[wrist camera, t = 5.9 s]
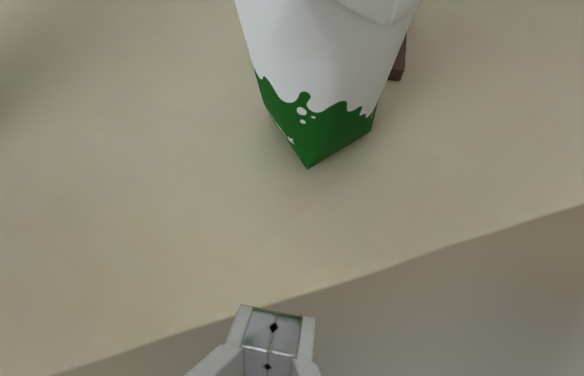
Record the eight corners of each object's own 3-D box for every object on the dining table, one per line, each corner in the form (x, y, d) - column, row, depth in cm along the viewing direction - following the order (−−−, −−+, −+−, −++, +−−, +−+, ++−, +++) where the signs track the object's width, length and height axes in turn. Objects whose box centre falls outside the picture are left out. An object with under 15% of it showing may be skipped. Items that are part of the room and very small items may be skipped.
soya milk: (256, 111, 27) (130, -249, 8) (332, 67, 28) (379, -354, 9) (304, 183, 25) (283, -89, 6) (386, 132, 26) (599, -249, 7)
